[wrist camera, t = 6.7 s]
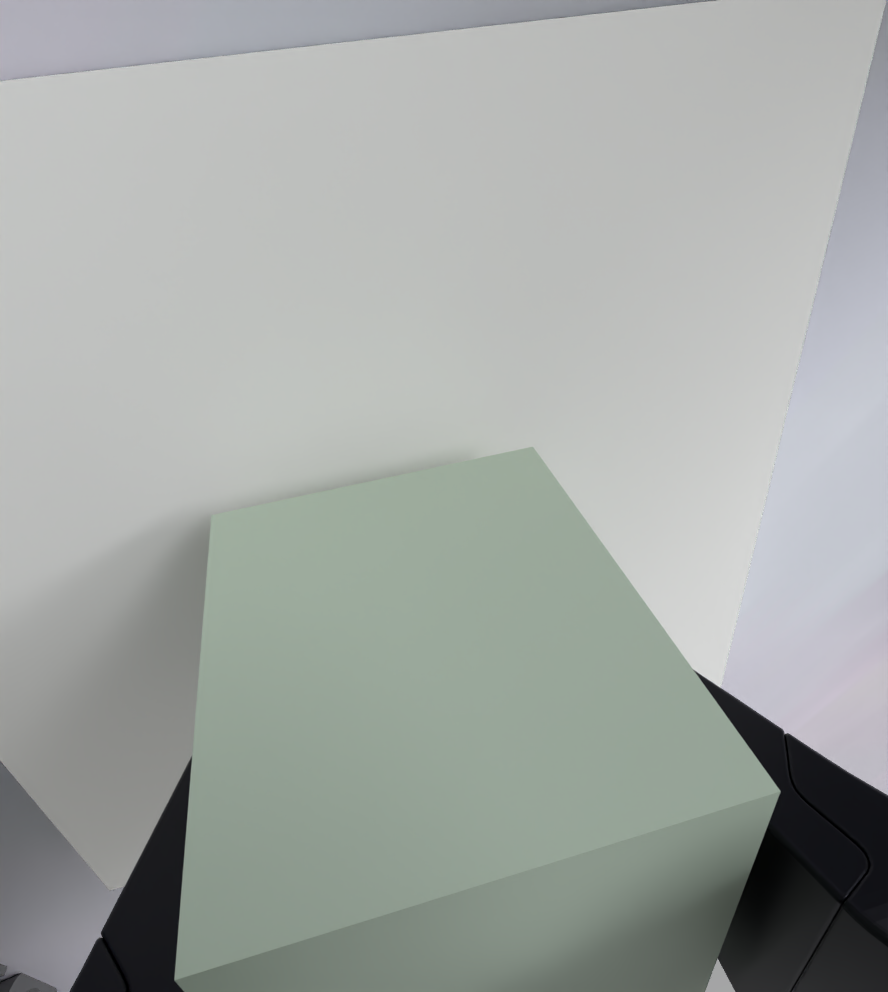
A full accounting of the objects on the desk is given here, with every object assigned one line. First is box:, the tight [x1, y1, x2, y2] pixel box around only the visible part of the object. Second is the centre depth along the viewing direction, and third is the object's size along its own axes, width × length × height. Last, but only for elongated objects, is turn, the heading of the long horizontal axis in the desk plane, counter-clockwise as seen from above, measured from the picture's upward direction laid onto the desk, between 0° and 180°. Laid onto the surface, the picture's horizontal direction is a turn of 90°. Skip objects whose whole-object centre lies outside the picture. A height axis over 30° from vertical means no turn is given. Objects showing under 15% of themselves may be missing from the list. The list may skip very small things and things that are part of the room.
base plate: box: [0, 0, 886, 891], centre depth 13 cm, size 16×16×2 cm
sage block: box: [174, 447, 781, 992], centre depth 9 cm, size 5×5×6 cm
